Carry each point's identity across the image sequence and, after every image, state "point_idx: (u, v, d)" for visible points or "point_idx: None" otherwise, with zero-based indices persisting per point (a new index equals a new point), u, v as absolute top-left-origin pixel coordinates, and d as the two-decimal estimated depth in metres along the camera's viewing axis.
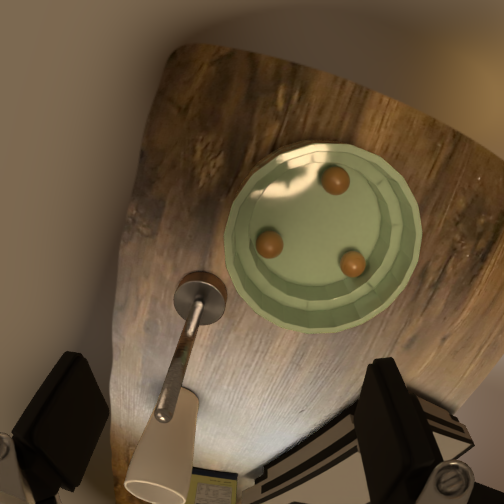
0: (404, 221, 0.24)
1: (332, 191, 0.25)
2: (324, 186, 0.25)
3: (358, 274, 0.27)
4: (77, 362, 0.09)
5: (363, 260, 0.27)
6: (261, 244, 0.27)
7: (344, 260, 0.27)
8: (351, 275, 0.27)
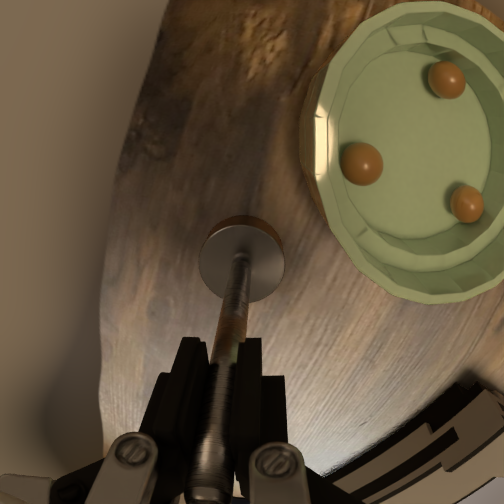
0: None
1: (449, 90, 0.13)
2: (436, 82, 0.13)
3: (478, 216, 0.16)
4: (201, 346, 0.10)
5: (482, 197, 0.16)
6: (355, 158, 0.15)
7: (460, 196, 0.16)
8: (469, 218, 0.16)
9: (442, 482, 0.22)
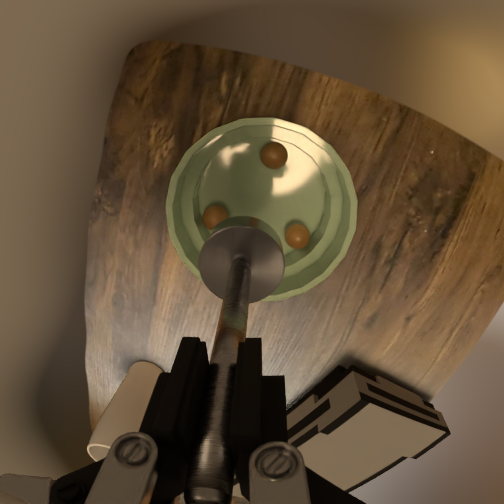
0: (342, 191, 0.26)
1: (269, 165, 0.27)
2: (262, 161, 0.27)
3: (301, 245, 0.29)
4: (201, 346, 0.10)
5: (306, 231, 0.29)
6: (206, 216, 0.28)
7: (287, 232, 0.29)
8: (294, 246, 0.29)
9: (336, 448, 0.35)
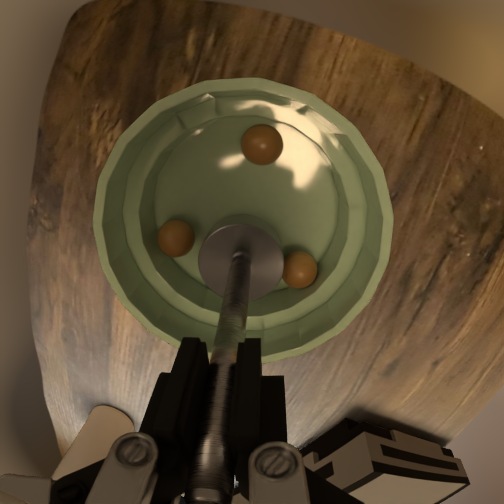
0: (368, 201, 0.16)
1: (254, 159, 0.17)
2: (243, 152, 0.17)
3: (306, 284, 0.20)
4: (201, 346, 0.10)
5: (313, 265, 0.19)
6: (161, 237, 0.19)
7: (285, 267, 0.20)
8: (297, 287, 0.20)
9: None
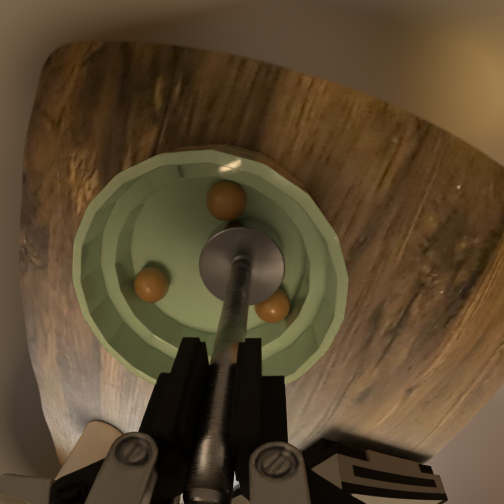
0: (328, 257, 0.17)
1: (218, 217, 0.18)
2: (208, 209, 0.18)
3: (272, 321, 0.20)
4: (201, 346, 0.10)
5: (287, 308, 0.20)
6: (136, 285, 0.20)
7: None
8: (263, 318, 0.20)
9: None
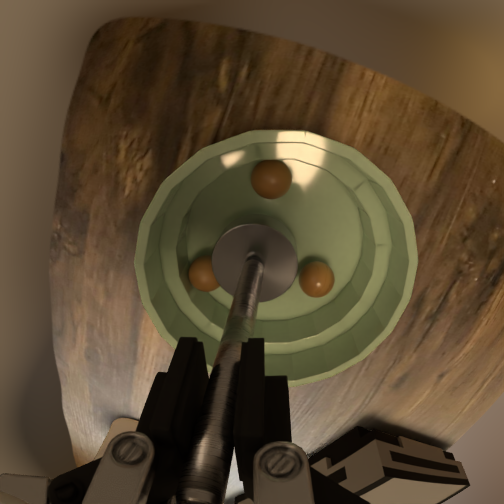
0: (393, 241, 0.17)
1: (260, 179, 0.17)
2: (260, 166, 0.18)
3: (303, 284, 0.20)
4: (198, 346, 0.10)
5: (321, 276, 0.20)
6: (192, 275, 0.20)
7: None
8: (299, 282, 0.21)
9: None
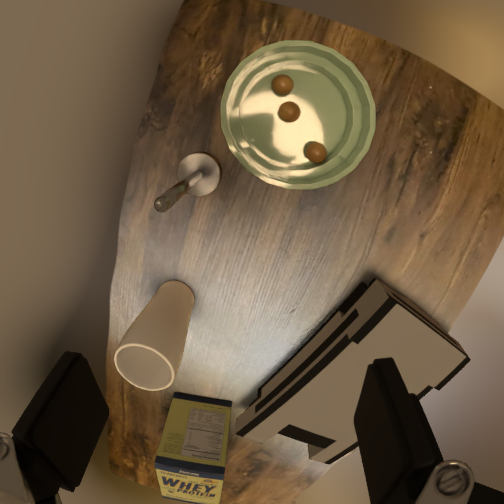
0: (362, 103, 0.29)
1: None
2: None
3: None
4: (77, 362, 0.09)
5: None
6: (307, 147, 0.33)
7: (292, 120, 0.32)
8: None
9: (363, 369, 0.39)
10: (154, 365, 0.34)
